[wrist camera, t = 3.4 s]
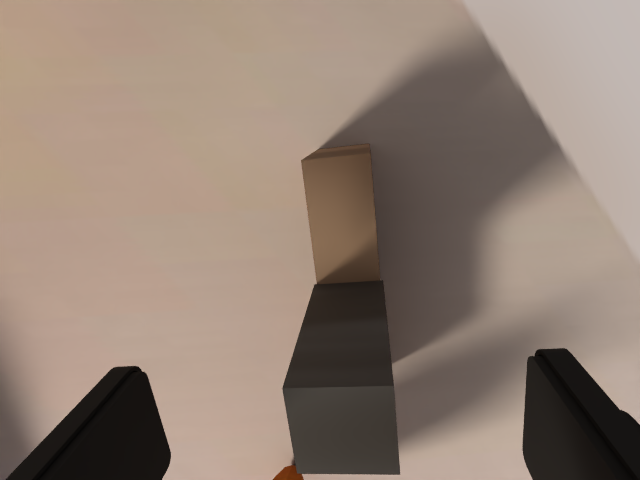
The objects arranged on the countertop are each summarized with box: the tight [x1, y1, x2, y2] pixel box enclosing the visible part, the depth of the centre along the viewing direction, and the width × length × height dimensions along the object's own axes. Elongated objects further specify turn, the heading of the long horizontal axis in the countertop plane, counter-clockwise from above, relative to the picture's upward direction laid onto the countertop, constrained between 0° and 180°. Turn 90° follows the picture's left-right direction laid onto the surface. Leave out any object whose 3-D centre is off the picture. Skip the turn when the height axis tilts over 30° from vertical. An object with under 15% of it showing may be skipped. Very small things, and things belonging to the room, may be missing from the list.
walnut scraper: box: [282, 144, 400, 475], centre depth 15 cm, size 12×3×11 cm, turn 7°
